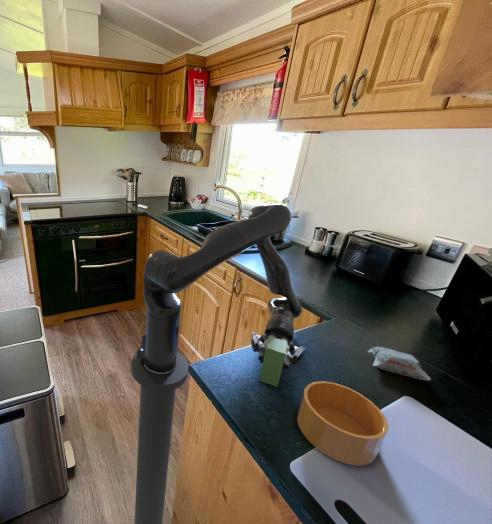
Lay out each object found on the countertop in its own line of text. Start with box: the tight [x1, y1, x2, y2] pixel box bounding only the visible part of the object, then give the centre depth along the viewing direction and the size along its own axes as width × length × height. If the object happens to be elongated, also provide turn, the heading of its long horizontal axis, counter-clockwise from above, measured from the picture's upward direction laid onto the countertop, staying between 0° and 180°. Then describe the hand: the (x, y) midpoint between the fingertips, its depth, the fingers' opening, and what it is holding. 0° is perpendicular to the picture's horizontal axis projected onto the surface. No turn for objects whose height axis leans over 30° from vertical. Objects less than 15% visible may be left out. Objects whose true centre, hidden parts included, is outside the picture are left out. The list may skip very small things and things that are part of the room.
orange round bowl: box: [296, 380, 389, 467], centre depth 60 cm, size 14×14×7 cm
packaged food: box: [367, 346, 432, 382], centre depth 80 cm, size 9×12×5 cm
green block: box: [258, 336, 287, 388], centre depth 74 cm, size 4×6×10 cm
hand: (272, 363), depth 71 cm, fingers closed on green block, 4 cm apart
